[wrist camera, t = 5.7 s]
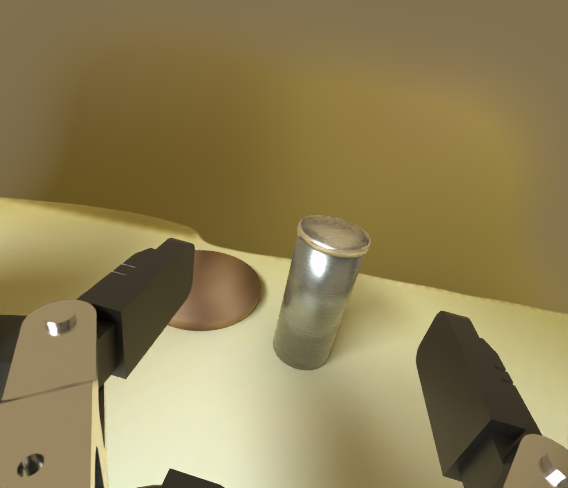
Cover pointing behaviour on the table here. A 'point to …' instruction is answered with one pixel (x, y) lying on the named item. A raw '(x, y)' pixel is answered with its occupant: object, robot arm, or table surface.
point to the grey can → (318, 289)
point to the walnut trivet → (218, 293)
